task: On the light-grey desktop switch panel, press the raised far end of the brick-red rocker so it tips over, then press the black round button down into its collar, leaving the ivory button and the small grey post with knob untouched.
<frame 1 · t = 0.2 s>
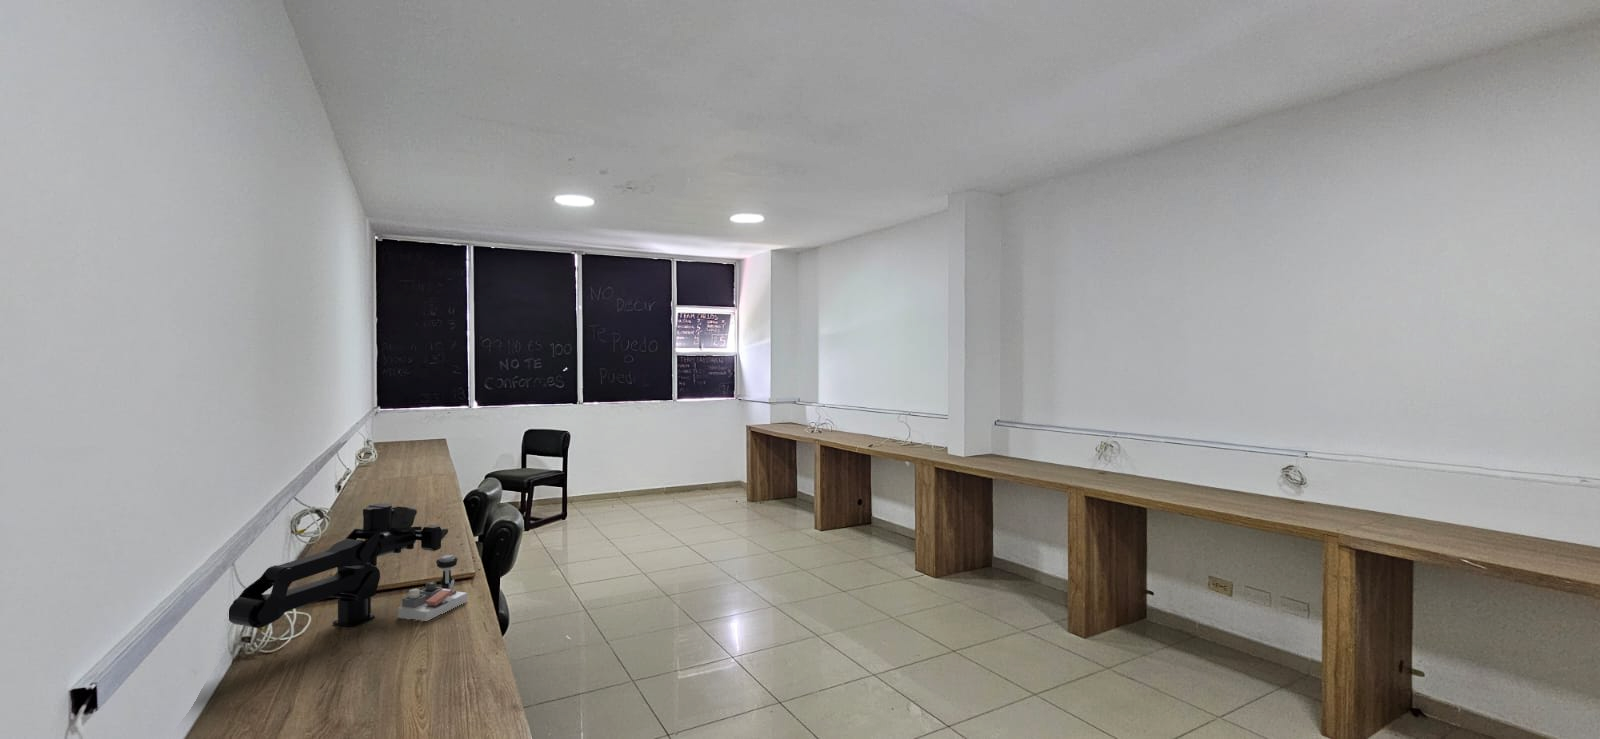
hand: (434, 529, 195), 17 cm above the table, tool horizontal, fingers open, 9 cm apart
panel: (433, 609, 180), on the table
button black: (431, 587, 182), point 5 cm above the table, slide at 0.0 cm
grey post with knob: (446, 591, 193), on the table
button ivory: (414, 594, 177), point 5 cm above the table, slide at 0.0 cm
rocker: (439, 596, 178), point 4 cm above the table, hinge at -12.0°
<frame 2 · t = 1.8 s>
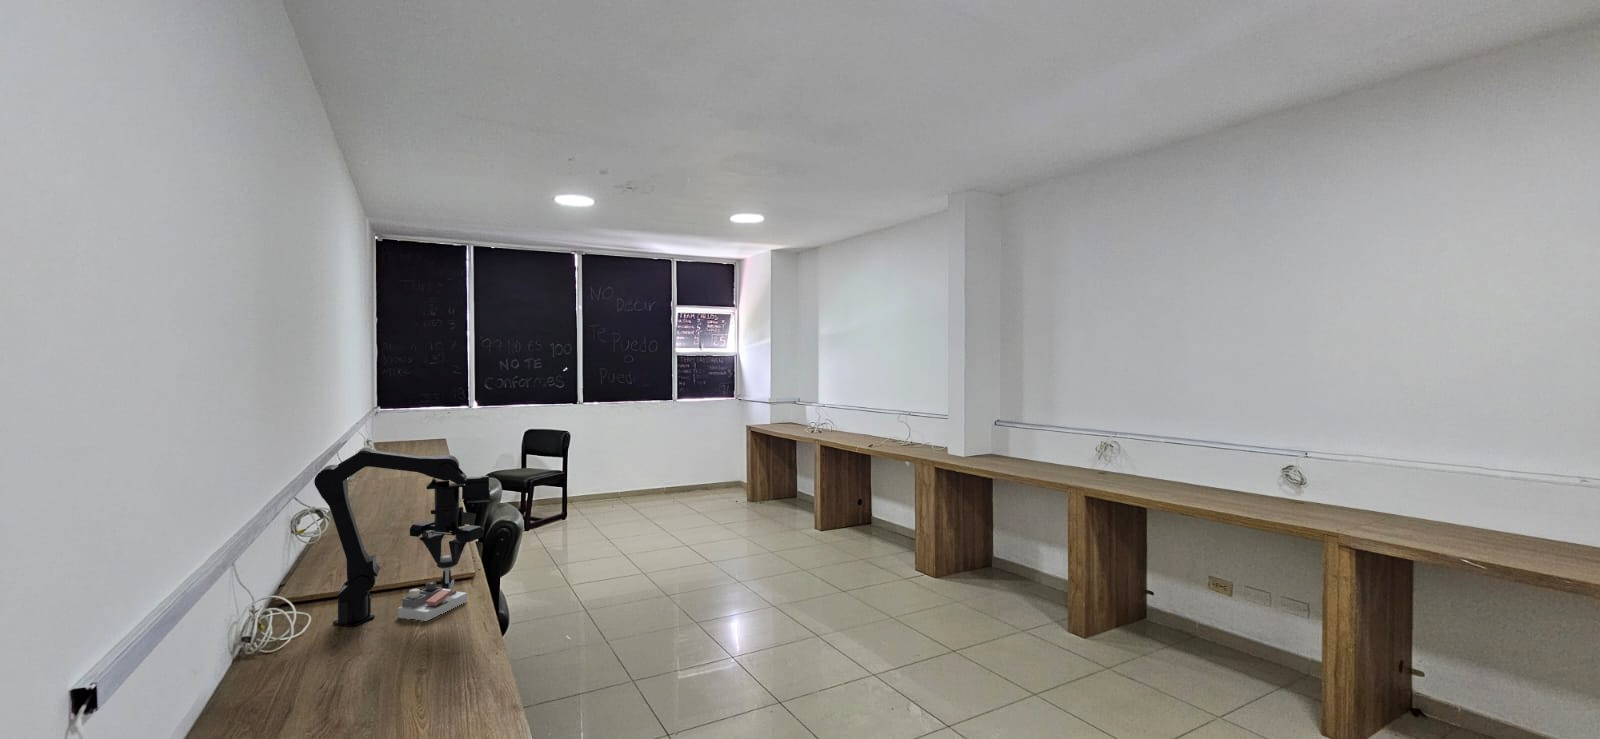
hand: (446, 563, 180), 12 cm above the table, tool pointing down, fingers open, 5 cm apart
nothing on the table moved.
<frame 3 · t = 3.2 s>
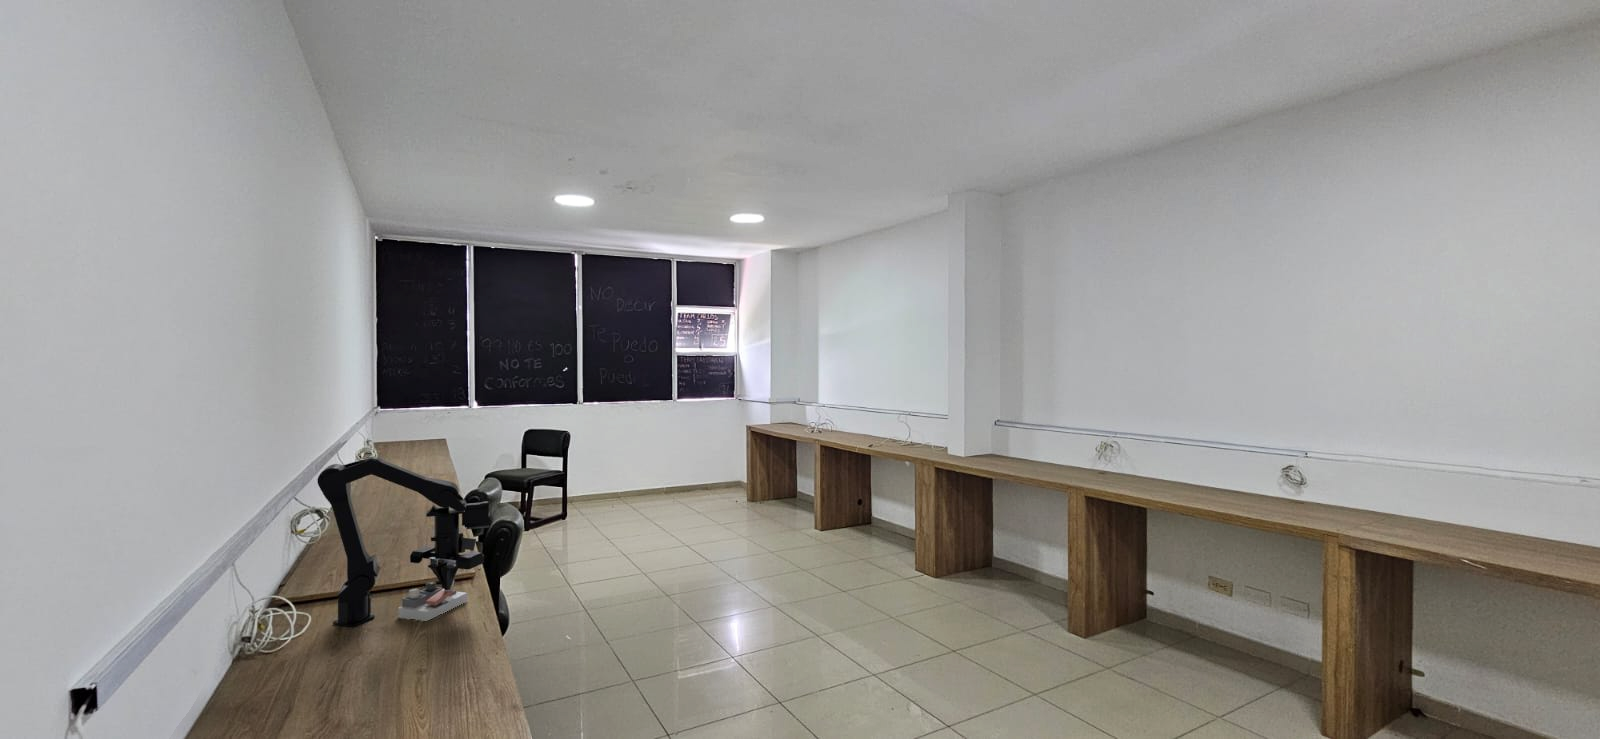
hand: (447, 589, 181), 5 cm above the table, tool pointing down, fingers closed, pressing on rocker
rocker: (439, 596, 178), point 4 cm above the table, hinge at -11.0°, touching gripper
everything else where it was.
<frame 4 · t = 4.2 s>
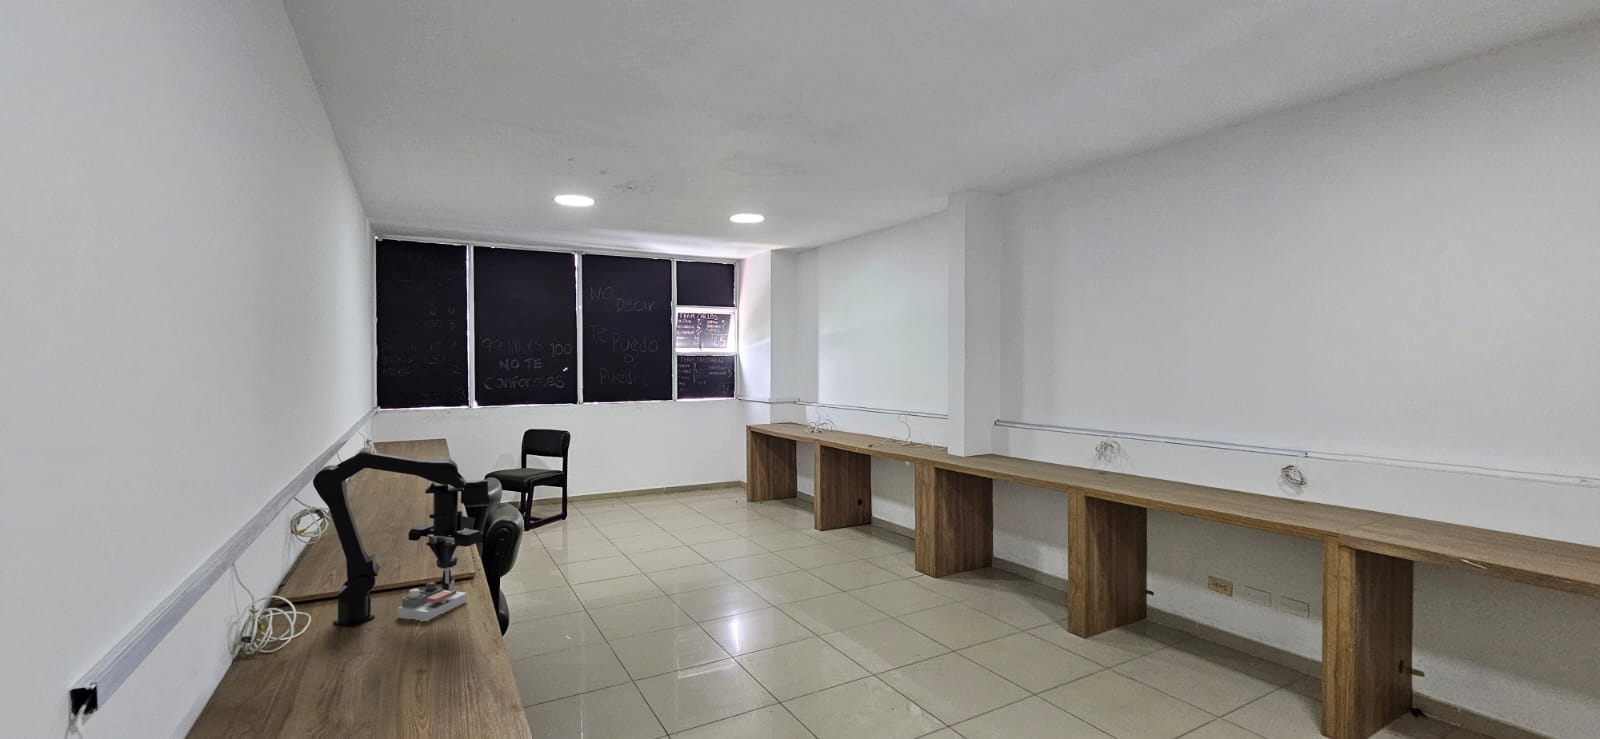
hand: (445, 567, 180), 11 cm above the table, tool pointing down, fingers closed
rocker: (439, 596, 178), point 4 cm above the table, hinge at 1.7°
everything else where it was.
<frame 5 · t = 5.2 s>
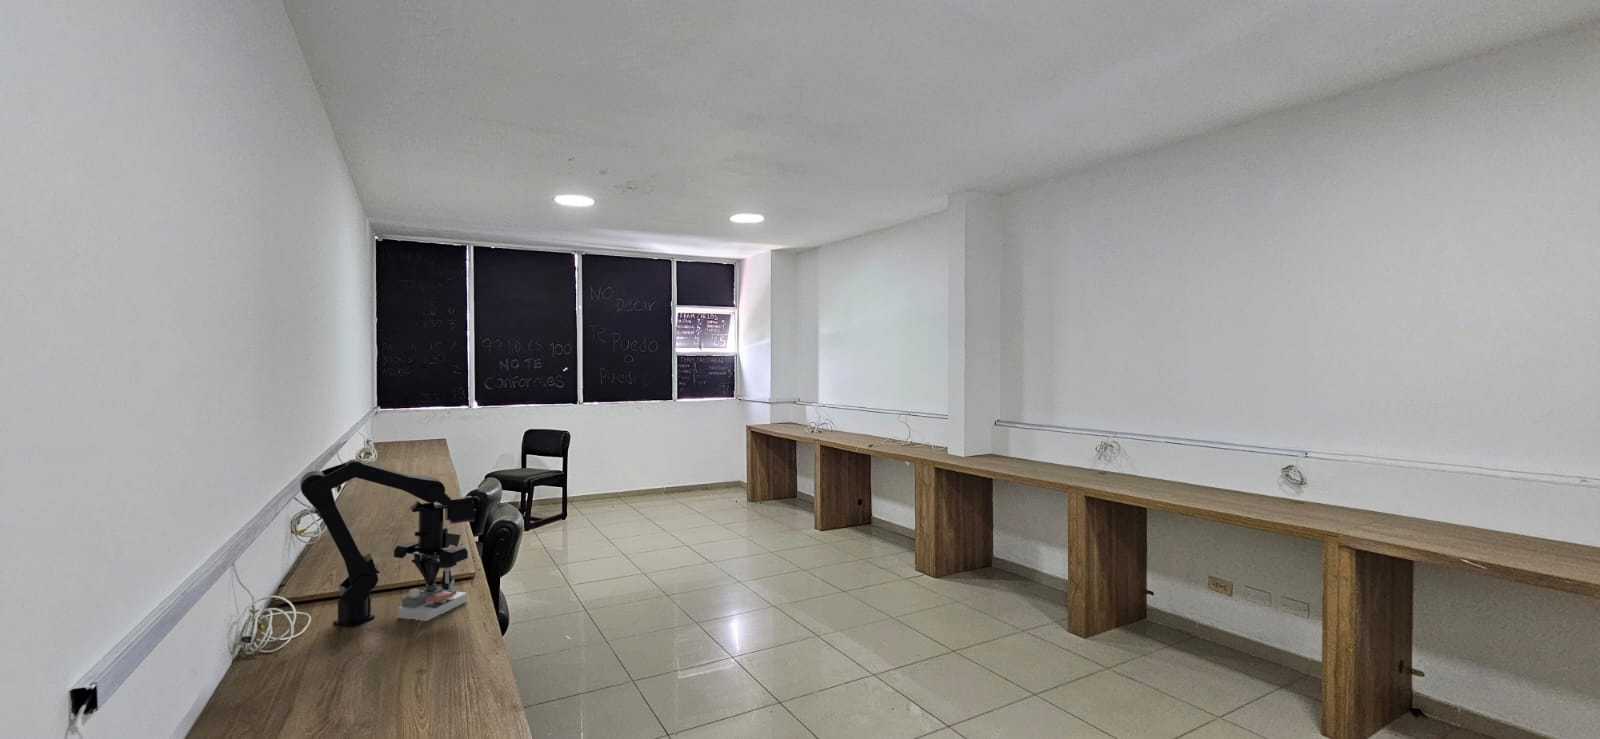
hand: (430, 584, 182), 6 cm above the table, tool pointing down, fingers closed, pressing on button black
button black: (431, 588, 182), point 5 cm above the table, slide at 0.4 cm, touching gripper
rocker: (440, 596, 178), point 4 cm above the table, hinge at 7.1°
everything else where it was.
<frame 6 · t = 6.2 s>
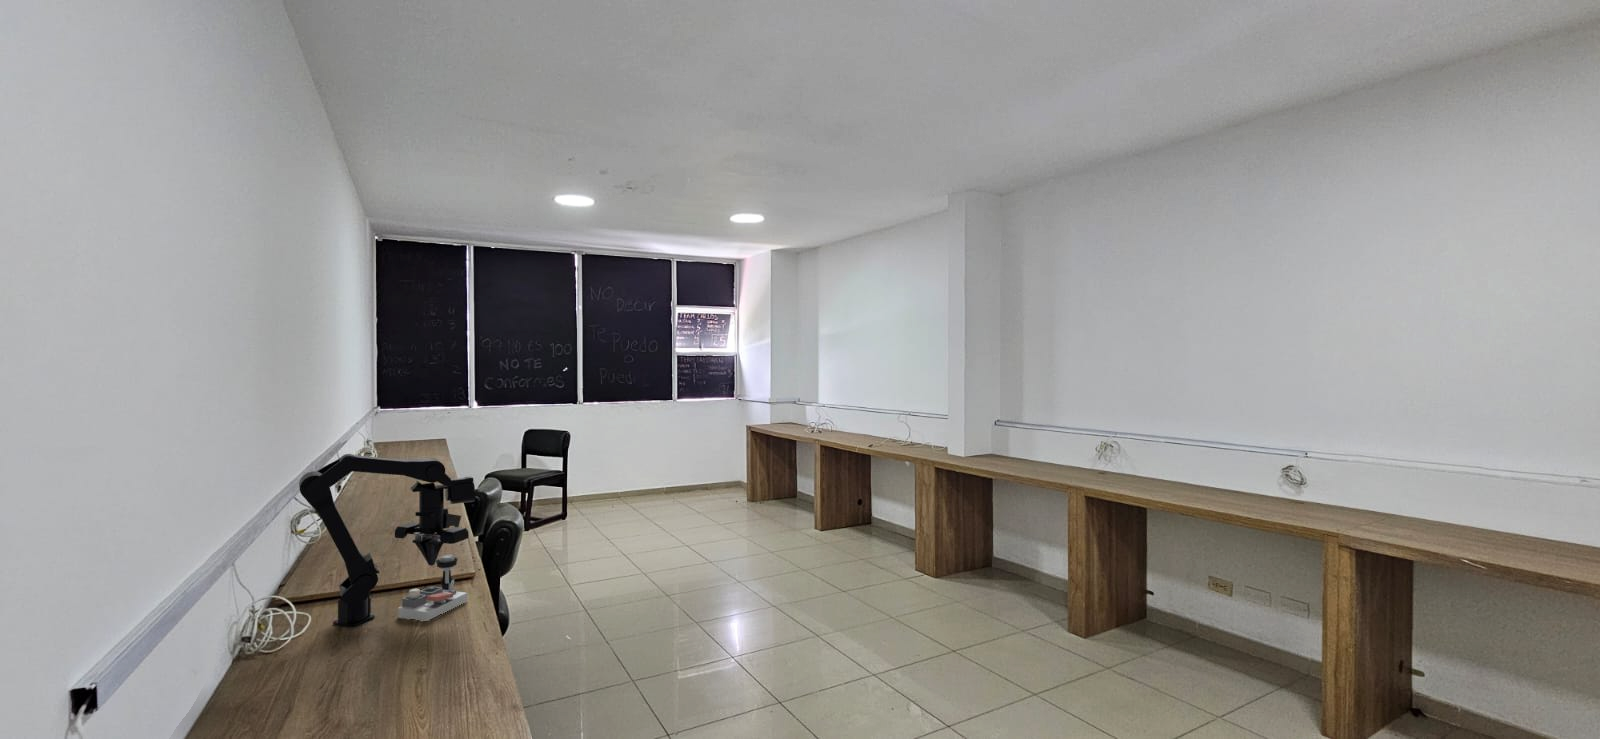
hand: (431, 565, 182), 11 cm above the table, tool pointing down, fingers closed
button black: (431, 591, 182), point 4 cm above the table, slide at 1.3 cm
rocker: (440, 596, 178), point 4 cm above the table, hinge at 9.9°
everything else where it was.
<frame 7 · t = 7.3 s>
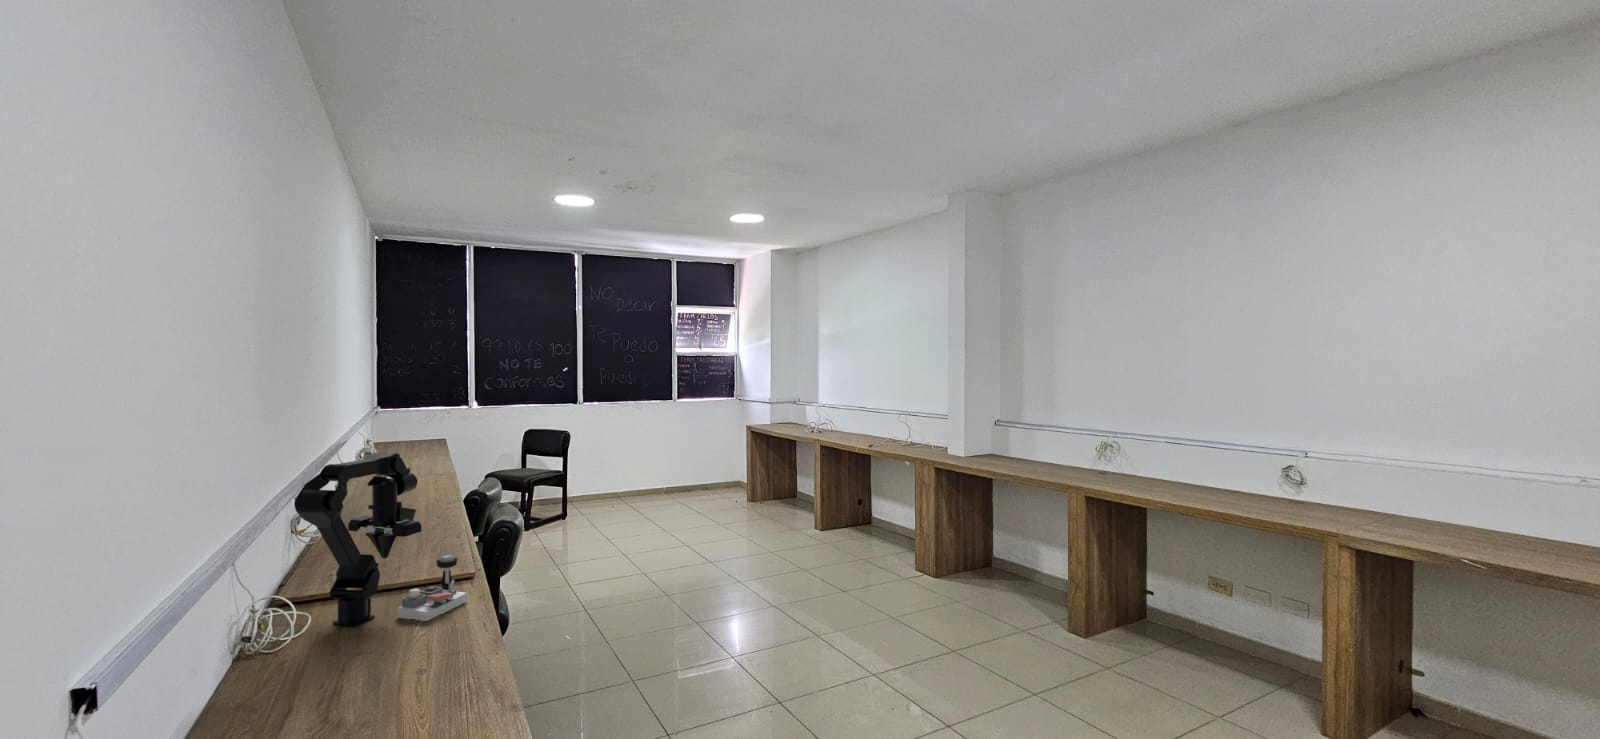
hand: (384, 557, 184), 12 cm above the table, tool pointing down, fingers closed
rocker: (440, 596, 178), point 4 cm above the table, hinge at 11.3°
everything else where it was.
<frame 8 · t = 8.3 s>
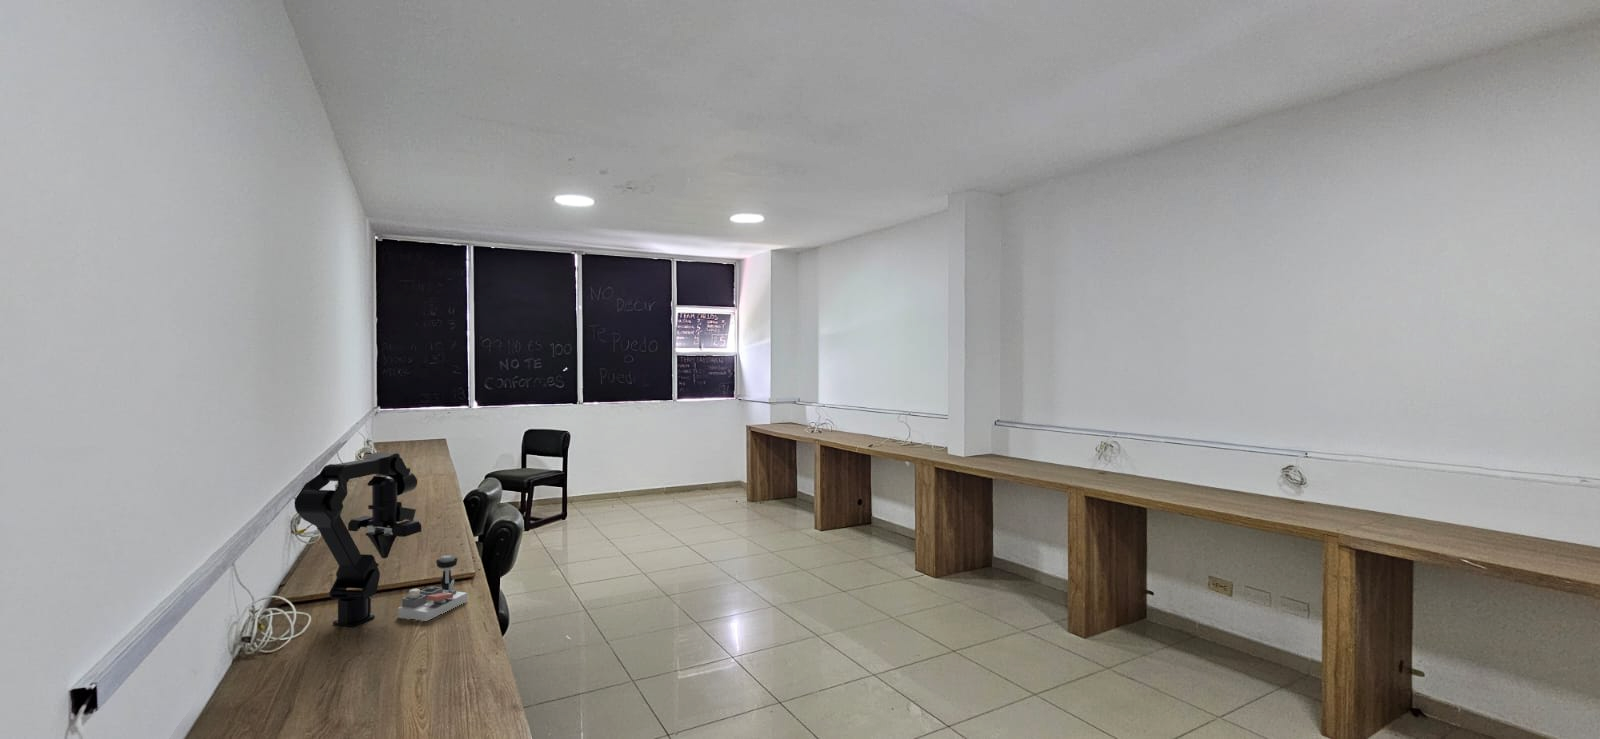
hand: (384, 557, 184), 12 cm above the table, tool pointing down, fingers closed
rocker: (440, 596, 178), point 4 cm above the table, hinge at 11.9°
everything else where it was.
at the end: rocker at +12° (first picture: -12°); button black slide at 1.3 cm; button ivory slide at 0.0 cm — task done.
